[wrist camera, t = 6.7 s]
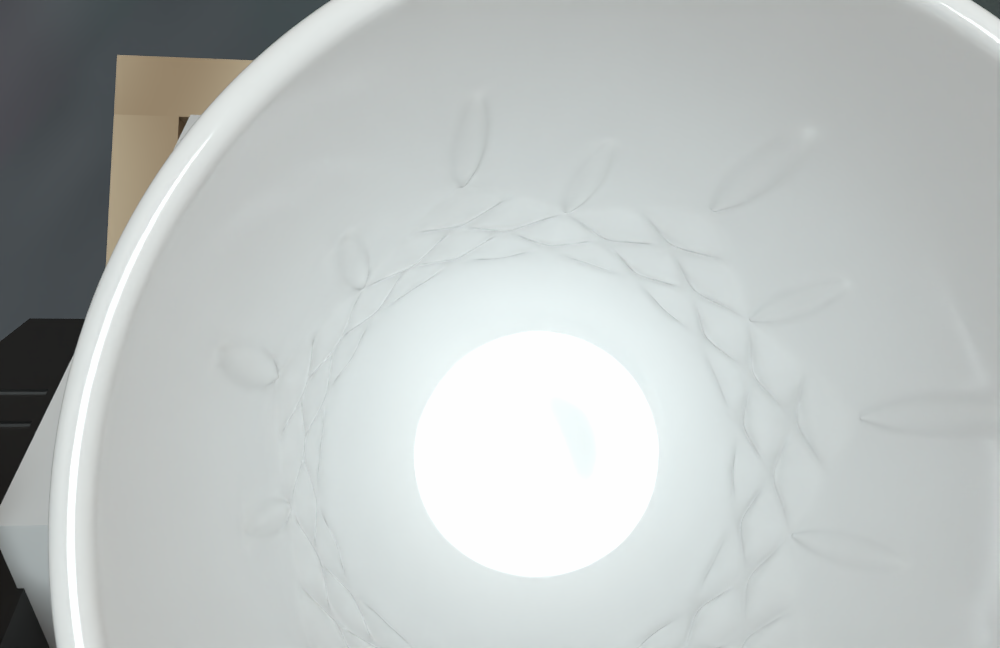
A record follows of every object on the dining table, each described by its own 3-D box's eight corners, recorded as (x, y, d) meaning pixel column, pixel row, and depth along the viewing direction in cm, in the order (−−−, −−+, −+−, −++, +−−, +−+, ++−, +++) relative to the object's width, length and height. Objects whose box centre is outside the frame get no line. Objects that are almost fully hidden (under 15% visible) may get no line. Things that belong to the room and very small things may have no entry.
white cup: (363, 184, 15) (301, -264, 6) (767, 312, 16) (1350, 111, 6) (217, 618, 14) (-190, 1023, 4) (661, 741, 15) (1186, 1343, 5)
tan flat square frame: (106, 874, 14) (70, 927, 12) (145, 92, 15) (116, 54, 14) (878, 825, 15) (931, 867, 14) (834, 117, 17) (877, 86, 15)
